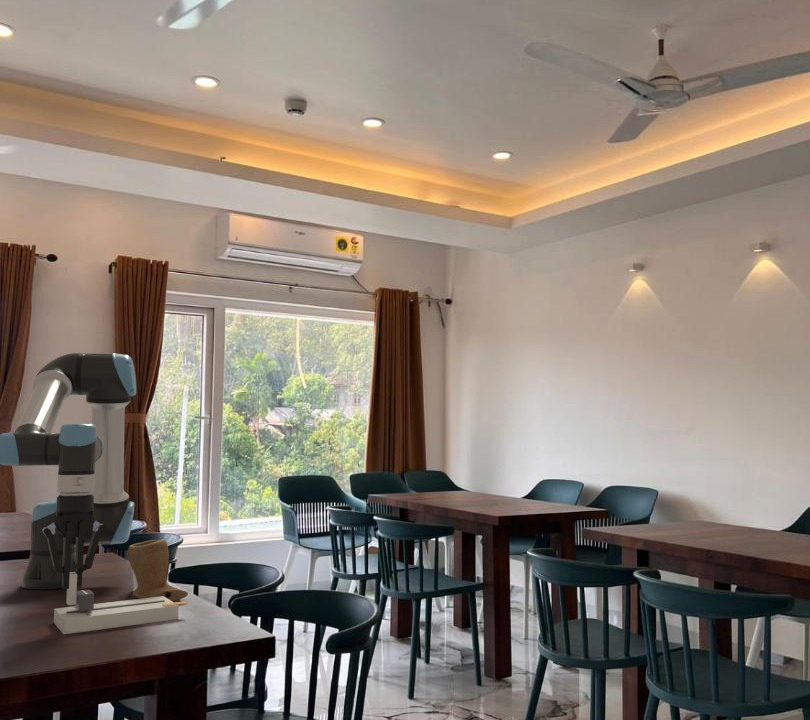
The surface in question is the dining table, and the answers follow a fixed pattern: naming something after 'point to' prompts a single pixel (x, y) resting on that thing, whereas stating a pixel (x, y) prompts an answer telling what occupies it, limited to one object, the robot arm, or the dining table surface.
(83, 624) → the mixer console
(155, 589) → the tan boot
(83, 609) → the fader knob
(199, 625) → the dining table surface
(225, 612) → the dining table surface
